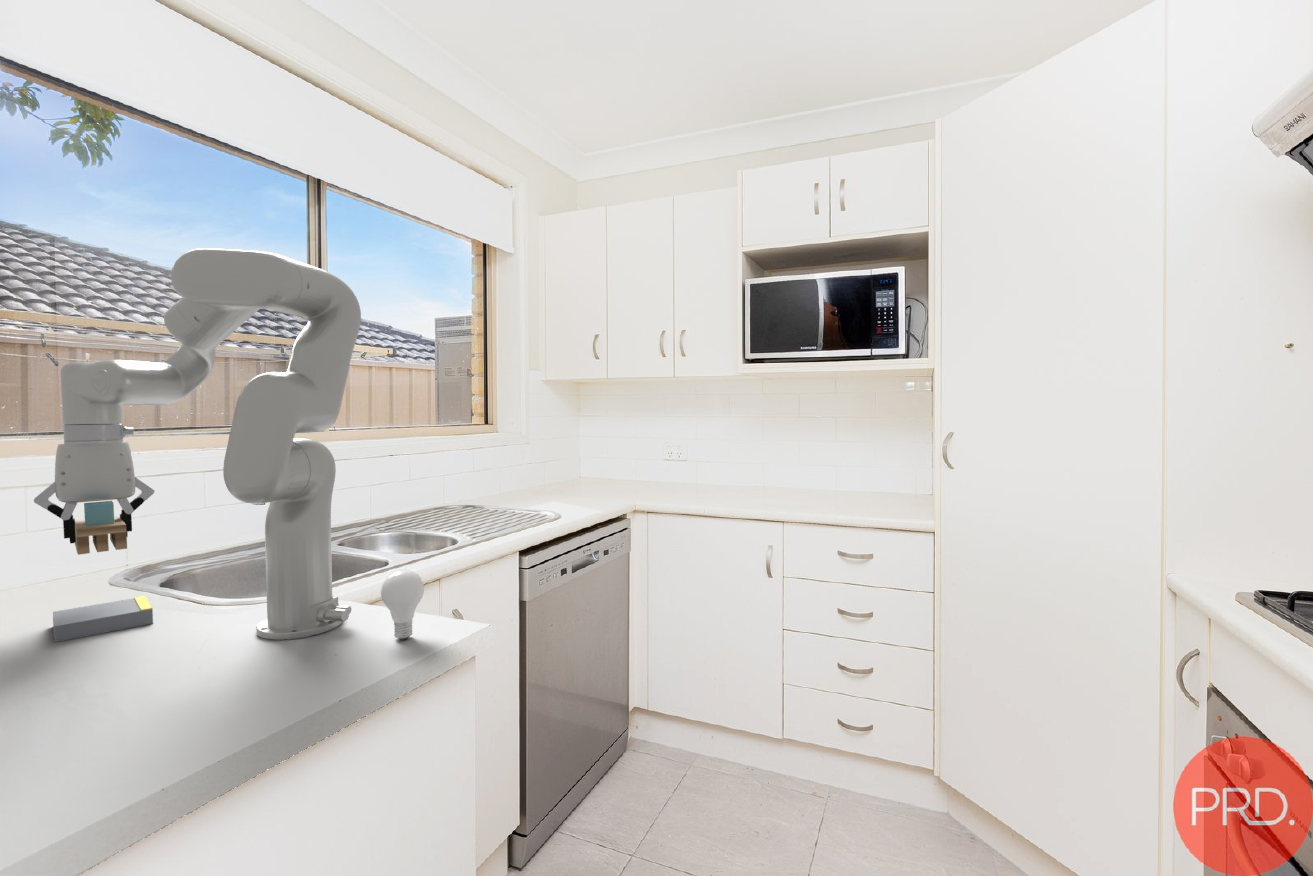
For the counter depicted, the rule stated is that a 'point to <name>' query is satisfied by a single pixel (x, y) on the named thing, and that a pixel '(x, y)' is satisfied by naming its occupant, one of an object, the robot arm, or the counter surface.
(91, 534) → the pallet
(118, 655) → the counter surface
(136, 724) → the counter surface
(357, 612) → the counter surface
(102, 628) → the dock
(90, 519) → the block
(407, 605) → the lightbulb
